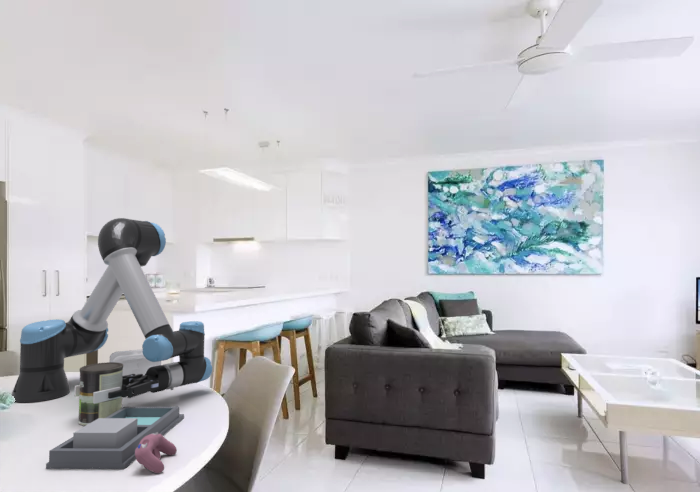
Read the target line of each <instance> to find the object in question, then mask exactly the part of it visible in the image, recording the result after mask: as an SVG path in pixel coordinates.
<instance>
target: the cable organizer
mask: <svg viewBox="0 0 700 492" xmlns="http://www.w3.org/2000/svg"><path fill="white" fill-rule="evenodd" d="M142 351H143V348H140V349H129V350H120V351H114V352H112V353H111V354H110V355H109V362H116V363H122V364H123V376H125V375H131V374H136V375H137V374H143V375H145V374H146V372H147V370H148V369H149V368H150V367H153V366H159V365H162V361H158V362H151V361H149V360H147V359H146V358H145V357H144V355H143V352H142Z"/></svg>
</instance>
